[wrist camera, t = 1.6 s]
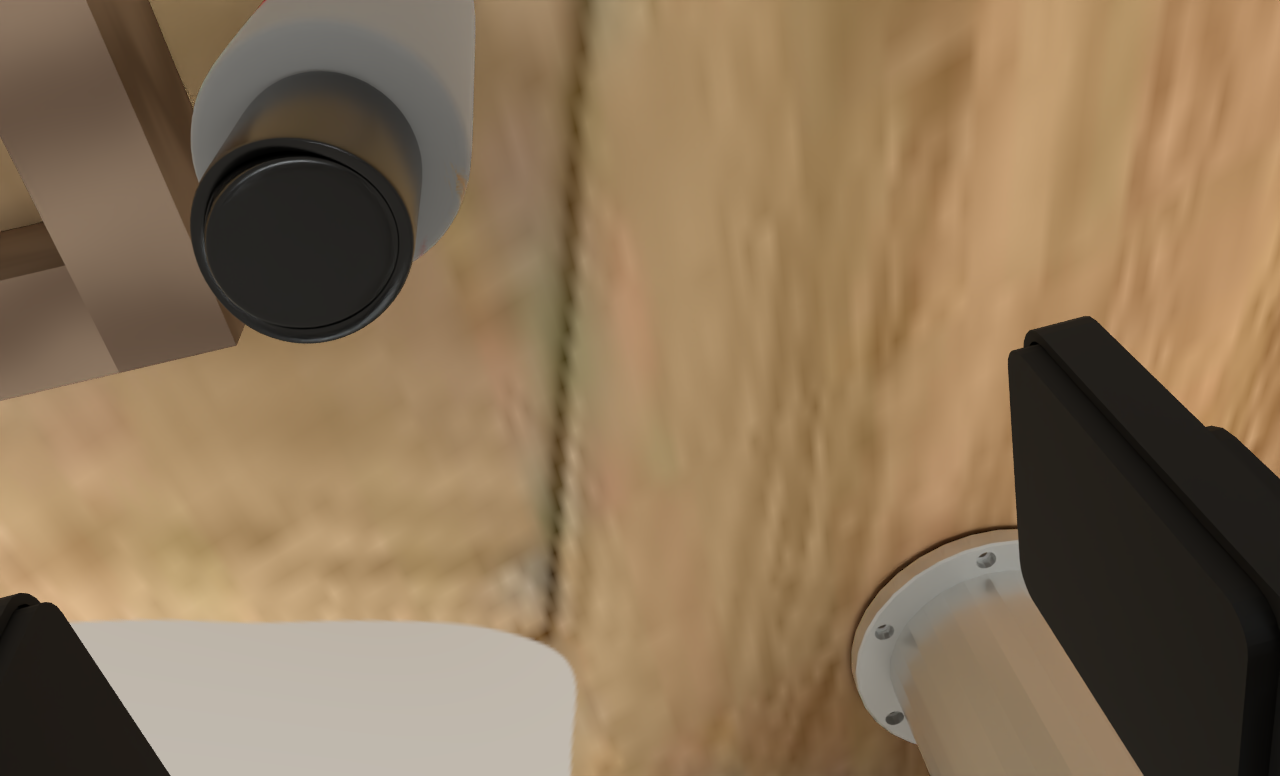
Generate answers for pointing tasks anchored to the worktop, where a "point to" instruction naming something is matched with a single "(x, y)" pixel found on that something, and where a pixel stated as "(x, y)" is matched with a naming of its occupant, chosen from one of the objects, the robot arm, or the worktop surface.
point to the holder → (98, 199)
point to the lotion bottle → (330, 158)
